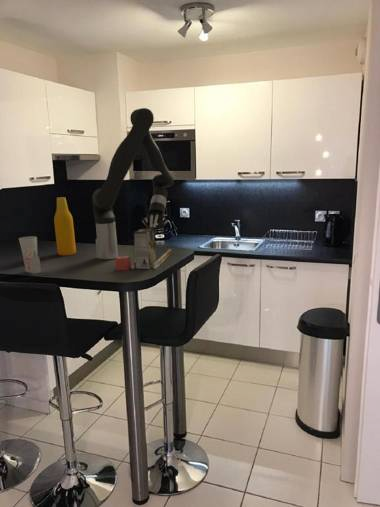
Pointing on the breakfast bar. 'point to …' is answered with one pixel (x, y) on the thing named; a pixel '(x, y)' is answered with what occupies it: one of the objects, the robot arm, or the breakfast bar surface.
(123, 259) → the red die
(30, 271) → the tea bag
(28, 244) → the cup
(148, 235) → the coffee box
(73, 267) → the breakfast bar surface
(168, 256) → the game track
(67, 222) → the beer bottle
